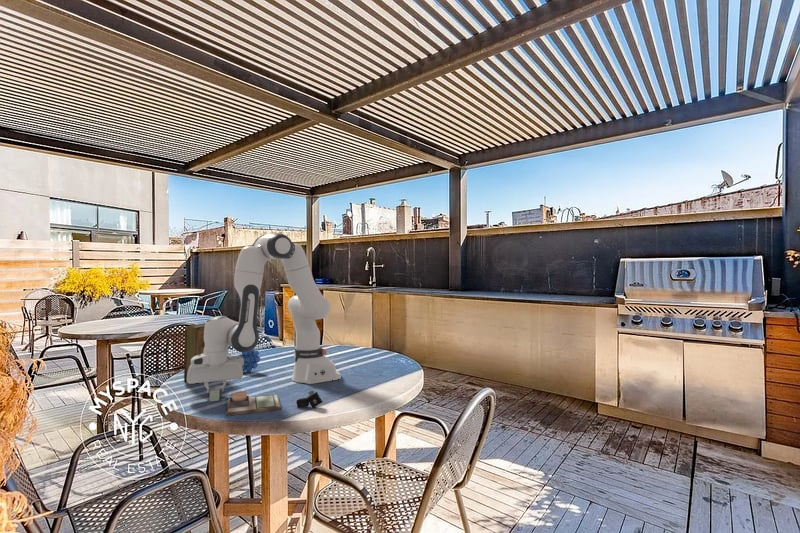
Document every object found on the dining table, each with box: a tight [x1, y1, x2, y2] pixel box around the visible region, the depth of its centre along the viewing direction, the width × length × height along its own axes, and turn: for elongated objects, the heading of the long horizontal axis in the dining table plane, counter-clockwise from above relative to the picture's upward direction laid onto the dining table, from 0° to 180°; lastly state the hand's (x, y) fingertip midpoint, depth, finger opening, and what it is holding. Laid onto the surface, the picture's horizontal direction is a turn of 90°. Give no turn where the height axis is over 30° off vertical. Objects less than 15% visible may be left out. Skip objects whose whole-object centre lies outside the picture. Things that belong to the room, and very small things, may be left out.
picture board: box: [226, 393, 282, 416], centre depth 143 cm, size 18×14×3 cm
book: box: [183, 322, 206, 385], centre depth 176 cm, size 16×6×25 cm, turn 168°
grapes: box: [238, 348, 261, 373], centre depth 190 cm, size 12×7×12 cm, turn 87°
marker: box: [209, 385, 221, 402], centre depth 152 cm, size 3×10×3 cm, turn 22°
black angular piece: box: [295, 390, 324, 409], centre depth 142 cm, size 9×2×6 cm
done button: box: [231, 391, 248, 402], centre depth 142 cm, size 5×5×2 cm
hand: (215, 392), depth 153 cm, fingers closed on marker, 3 cm apart
